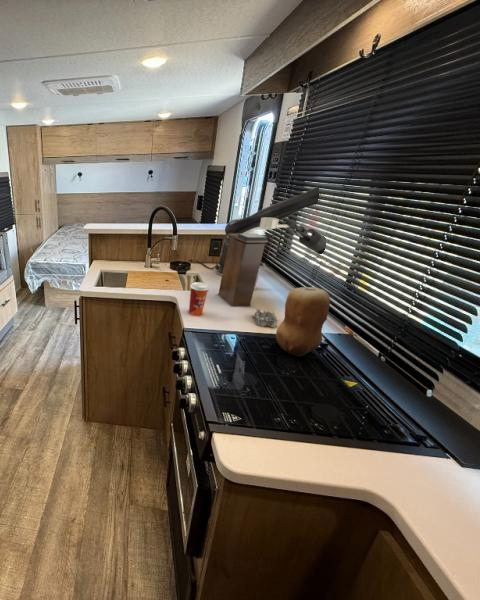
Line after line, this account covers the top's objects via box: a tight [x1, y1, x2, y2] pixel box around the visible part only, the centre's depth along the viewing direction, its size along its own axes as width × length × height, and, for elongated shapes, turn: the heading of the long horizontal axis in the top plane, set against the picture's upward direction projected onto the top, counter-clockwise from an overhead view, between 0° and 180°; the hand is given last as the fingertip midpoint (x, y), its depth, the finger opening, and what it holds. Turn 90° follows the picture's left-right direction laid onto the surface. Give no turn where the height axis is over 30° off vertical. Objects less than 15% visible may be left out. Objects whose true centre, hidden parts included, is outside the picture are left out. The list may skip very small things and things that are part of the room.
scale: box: [238, 233, 269, 241], centre depth 137 cm, size 8×10×2 cm
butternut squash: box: [275, 286, 331, 357], centre depth 106 cm, size 14×13×25 cm
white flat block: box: [258, 217, 301, 230], centre depth 141 cm, size 7×18×4 cm, turn 92°
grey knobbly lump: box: [253, 307, 279, 328], centre depth 132 cm, size 11×8×4 cm
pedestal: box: [217, 232, 269, 307], centre depth 148 cm, size 16×10×32 cm, turn 2°
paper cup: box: [188, 281, 210, 317], centre depth 138 cm, size 8×8×14 cm
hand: (287, 222), depth 141 cm, fingers closed on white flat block, 2 cm apart
